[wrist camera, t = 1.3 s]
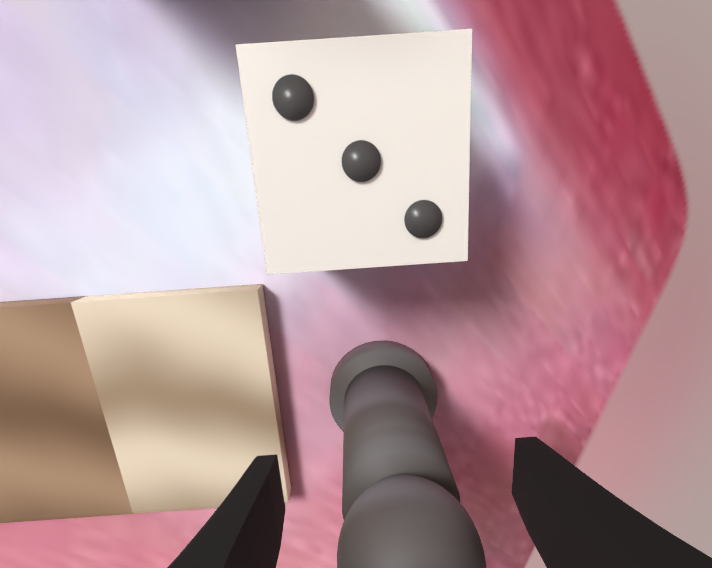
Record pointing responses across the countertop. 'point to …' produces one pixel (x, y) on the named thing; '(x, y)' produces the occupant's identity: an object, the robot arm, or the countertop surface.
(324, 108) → the die
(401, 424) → the pawn
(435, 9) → the countertop surface
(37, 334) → the board
